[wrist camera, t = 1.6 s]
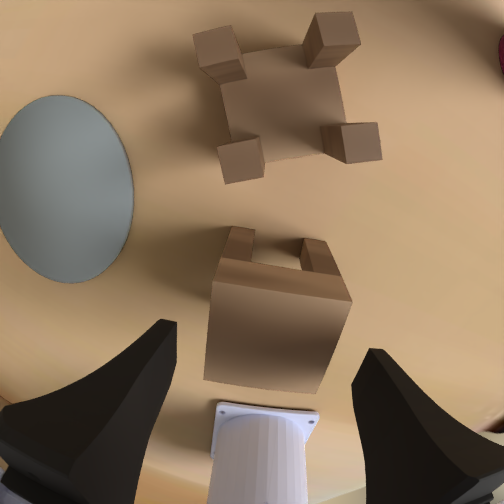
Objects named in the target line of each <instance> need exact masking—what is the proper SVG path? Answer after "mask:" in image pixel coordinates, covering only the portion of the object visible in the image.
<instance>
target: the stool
mask: <svg viewBox="0 0 504 504" xmlns="http://www.w3.org/2000/svg"><path fill="white" fill-rule="evenodd" d="M254 234H255V230H253V229H247V228H241V227H235V226H232V228H231V231H230V233H229V236H228V239H227V242H226V244H225V247H224V250H223V253H222V256H221V258H220V261H219V264H218V267H217V270H216V273H215V275H214V278H213V282H212V291H211V301H210V311H209V321H208V332H207V343H206V355H205V367H204V379H203V380H207V381H212V382H218V383H224V384H230V385H237V386H244V387H251V388H258V389H266V390H275V391H284V392H295V393H307V394H316V393H317V390H318V388H319V386H320V384H321V381H322V379H323V377H324V374H325V372H326V370H327V367H328V365H329V363H330V360H331V358H332V355H333V353H334V350H335V348H336V345H337V343H338V340H339V338H340V335H341V332H342V330H343V327H344V325H345V322H346V319H347V316H348V314H349V311H350V308H351V305H352V299H351V297H350V295H349V292H348V290H347V287H346V285H345V283H344V281H343V278H342V276H341V274H340V271H339V269H338V267H337V265H336V262H335V260H334V258H333V256H332V254H331V251H330V249H329V247H328V245H327V243H326V242H325V241H319V240H313V239H307V238H304V241H303V245H302V250H301V254H300V258H299V259H300V264H301V268H302V270H297V269H290V268H284V267H278V266H272V265H265V264H259V263H253V262H251V256H252V249H253V241H254Z"/></svg>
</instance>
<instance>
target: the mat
mask: <svg viewBox="0 0 504 504" xmlns="http://www.w3.org/2000/svg"><path fill="white" fill-rule="evenodd" d="M133 209H134V186H133V178H132V172H131V168H130V163H129V159H128V157H127V154H126V151H125V148H124V146H123V144H122V142H121V140H120V137H119V135H118V134H117V132H116V131H115V129H114V128H113V126H112V125H111V123H110V122H109V121H108V120H107V119H106V117H105V116H104V115H103V114H102V113H101V112H99V111H98V110H97V109H96V108H95V107H93V106H92V105H90V104H89V103H87V102H85V101H83V100H80V99H78V98H75V97H70V96H48V97H43V98H40V99H38V100H35V101H33V102H31V103H30V104H28V105H27V106H25V107H24V108H23V109H22V110H20V111H19V112H18V113H17V114H16V115H15V116H14V118H13V119H12V120H11V121H10V123H9V124H8V126H7V127H6V129H5V131H4V132H3V134H2V136H1V139H0V226H1V229H2V231H3V233H4V235H5V237H6V239H7V241H8V242H9V244H10V246H11V247H12V249H13V250H14V251H15V253H16V254H17V255H18V256H19V257H20V259H21V260H22V261H23V262H24V263H25V264H27V265H28V266H29V267H30V268H31V269H32V270H34V271H35V272H37V273H38V274H40V275H42V276H44V277H46V278H48V279H51V280H54V281H57V282H62V283H79V282H84V281H87V280H90V279H92V278H94V277H96V276H98V275H99V274H100V273H102V272H103V271H104V270H106V269H107V268H108V267H109V266H110V264H111V263H112V262H113V261H114V260H115V259H116V258H117V256H118V255H119V253H120V252H121V250H122V248H123V246H124V244H125V242H126V240H127V237H128V234H129V231H130V227H131V223H132V218H133Z"/></svg>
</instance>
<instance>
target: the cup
mask: <svg viewBox="0 0 504 504" xmlns="http://www.w3.org/2000/svg"><path fill="white" fill-rule="evenodd" d="M499 58H500V64H501V67H502V70H503V73H504V35H503V36H502V38H501V40H500V43H499Z"/></svg>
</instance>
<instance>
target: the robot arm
mask: <svg viewBox="0 0 504 504" xmlns="http://www.w3.org/2000/svg"><path fill="white" fill-rule="evenodd" d="M176 363H177V322H174V321H169V320H165V319H160V320H158V321H157V322H156V323H155V324H154V325H153V326H152V327H151V328H149V329H148V330H147V331H146V332H145V333H144V334H143V335H142V336H141V337H139V338H138V339H137V340H136V341H135V342H134V343H132V344H131V345H130V346H129V347H127V348H126V349H125V350H124V351H123V352H121V353H120V354H119V355H117V356H116V357H114V358H113V359H112V360H110V361H109V362H108V363H106V364H105V365H103V366H102V367H100V368H99V369H97V370H96V371H94V372H92V373H91V374H89V375H87V376H86V377H84V378H82V379H80V380H78V381H76V382H74V383H72V384H70V385H68V386H66V387H64V388H62V389H59V390H57V391H54V392H52V393H49V394H47V395H44V396H41V397H38V398H35V399H31V400H28V401H24V402H19V403H15V404H11V405H6V406H4V407H3V409H2V410H1V411H0V457H1V458H2V459H3V460H4V461H5V462H6V463H7V464H8V465H9V466H8V467H7V469H6V471H4V470H3V469H2V468H1V467H0V504H134V500H135V495H136V490H137V485H138V480H139V476H140V471H141V467H142V463H143V459H144V455H145V451H146V448H147V444H148V440H149V437H150V434H151V431H152V429H153V426H154V424H155V422H156V419H157V417H158V414H159V412H160V409H161V407H162V404H163V402H164V400H165V397H166V395H167V392H168V390H169V387H170V385H171V381H172V377H173V374H174V370H175V366H176ZM351 386H352V399H353V408H354V413H355V417H356V422H357V426H358V430H359V435H360V439H361V444H362V449H363V454H364V460H365V472H366V504H490V501H491V500H493V498H494V497H493V494H492V492H493V491H494V490H495V489H496V488H498V487H499V486H500V485H502V484H503V483H504V446H502V445H499V444H497V443H494V442H492V441H490V440H488V439H486V438H484V437H482V436H481V435H479V434H477V433H475V432H474V431H472V430H470V429H469V428H467V427H466V426H464V425H463V424H461V423H460V422H458V421H457V420H456V419H454V418H453V417H452V416H450V415H449V414H448V413H447V412H445V411H444V410H443V409H442V408H441V407H439V406H438V405H437V404H436V403H435V402H434V401H433V400H432V399H431V398H430V397H429V396H428V395H427V394H425V393H424V392H423V391H422V390H421V389H420V388H419V386H418V385H417V384H416V383H415V382H414V381H413V380H412V379H411V378H410V377H409V376H408V375H407V374H406V373H405V372H404V370H403V369H402V368H401V367H400V366H399V365H398V364H397V363H396V362H395V361H394V360H393V359H392V357H391V356H390V355H389V354H388V353H387V352H386V351H385V350H383V349H374V348H369V350H368V352H367V354H366V356H365V358H364V360H363V362H362V364H361V366H360V368H359V370H358V372H357V374H356V376H355V378H354V380H353V382H352V384H351ZM318 420H319V413H318V412H313V411H298V410H286V409H275V408H266V407H257V406H250V405H242V404H235V403H229V402H219V403H217V407H216V414H215V422H214V430H213V438H212V446H211V454H210V457H211V458H212V459H214V461H213V467H212V473H211V479H210V486H209V492H208V498H207V504H308V495H307V476H306V459H305V443H306V442H307V440H308V438H309V436H310V434H311V433H312V431H313V429H314V427H315V425H316V423H317V422H318ZM497 504H504V500H502V501H500V502H498V503H497Z"/></svg>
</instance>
